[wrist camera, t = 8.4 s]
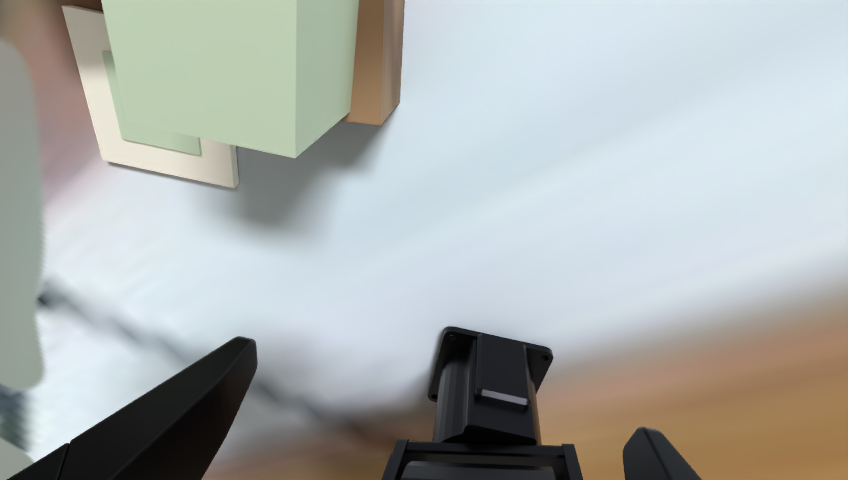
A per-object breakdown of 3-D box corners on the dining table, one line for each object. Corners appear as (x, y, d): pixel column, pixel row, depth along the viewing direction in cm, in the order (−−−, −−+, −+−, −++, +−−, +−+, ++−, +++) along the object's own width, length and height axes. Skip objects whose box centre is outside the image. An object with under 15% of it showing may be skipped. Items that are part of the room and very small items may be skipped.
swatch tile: (239, 184, 21) (232, 189, 21) (110, 156, 21) (100, 160, 21) (227, 37, 18) (218, 38, 17) (71, 5, 18) (58, 5, 17)
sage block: (350, 111, 15) (295, 158, 11) (229, 85, 15) (126, 121, 11) (362, -37, 12) (297, -53, 8) (218, -67, 12) (79, -99, 8)
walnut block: (400, 101, 18) (380, 125, 15) (271, 86, 19) (223, 106, 15) (408, -65, 15) (386, -83, 12) (253, -79, 16) (188, -99, 12)
